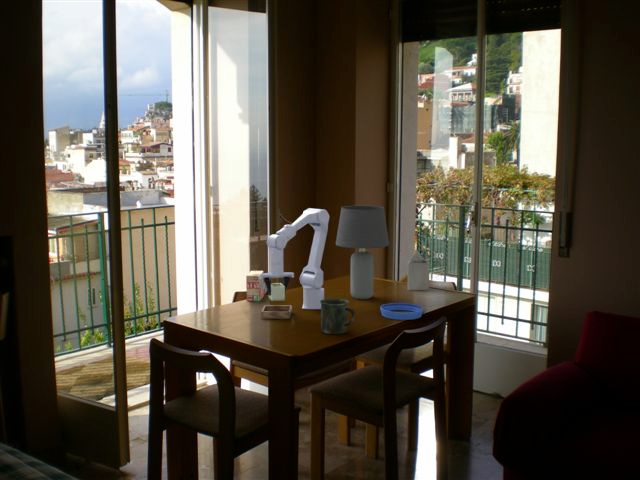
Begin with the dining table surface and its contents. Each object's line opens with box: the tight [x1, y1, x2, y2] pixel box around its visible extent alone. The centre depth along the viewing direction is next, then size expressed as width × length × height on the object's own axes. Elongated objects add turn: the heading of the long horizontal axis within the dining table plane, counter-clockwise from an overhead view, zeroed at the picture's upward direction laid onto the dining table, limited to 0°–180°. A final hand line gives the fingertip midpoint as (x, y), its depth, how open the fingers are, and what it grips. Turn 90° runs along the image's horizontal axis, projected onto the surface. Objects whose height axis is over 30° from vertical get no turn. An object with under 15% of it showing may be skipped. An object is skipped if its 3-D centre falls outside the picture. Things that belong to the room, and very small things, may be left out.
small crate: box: [268, 282, 286, 302], centre depth 291 cm, size 6×8×6 cm
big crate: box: [260, 304, 293, 320], centre depth 292 cm, size 12×12×3 cm
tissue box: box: [407, 249, 431, 291], centre depth 346 cm, size 16×8×19 cm, turn 143°
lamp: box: [335, 205, 390, 300], centre depth 324 cm, size 25×25×43 cm
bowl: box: [380, 302, 424, 321], centre depth 293 cm, size 18×18×4 cm
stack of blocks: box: [245, 270, 268, 302], centre depth 329 cm, size 21×6×12 cm, turn 175°
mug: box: [320, 297, 356, 335], centre depth 266 cm, size 11×15×12 cm
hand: (276, 294), depth 291 cm, fingers closed on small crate, 5 cm apart
